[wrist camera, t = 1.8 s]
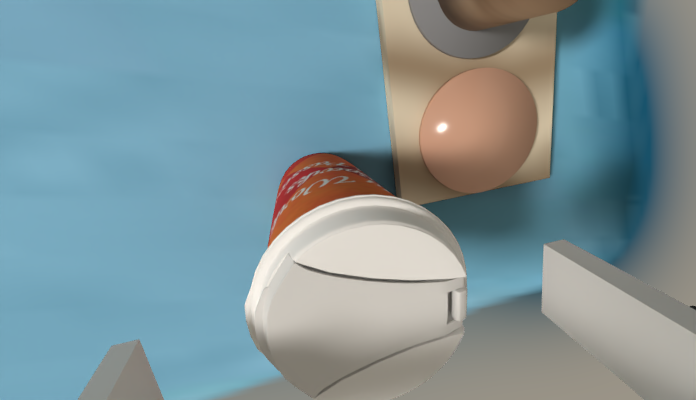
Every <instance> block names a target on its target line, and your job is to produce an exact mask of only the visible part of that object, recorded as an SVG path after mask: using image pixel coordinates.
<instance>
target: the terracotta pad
mask: <svg viewBox="0 0 696 400" xmlns="http://www.w3.org/2000/svg"><path fill="white" fill-rule="evenodd" d="M536 130H537V113H536V107H535V103H534V100H533V98H532V95H531V93H530V92H529V90H528V88H527V87H526V86H525V84H524V83H523V82H522V81H521V80H520V79H519V78H517V77H516V76H515V75H513V74H511V73H510V72H507V71H505V70H502V69H497V68H475V69H471V70H467V71H464V72H462V73H459V74H458V75H456V76H454V77H452V78H451V79H449V80H448V81H447V82H445V83H444V84H443V85H442V86H441V87H440V88H439V89H438V90H437V91H436V93H435V94H434V95H433V97H432V98H431V100H430V101H429V103H428V105H427V107H426V109H425V111H424V114H423V117H422V120H421V124H420V130H419V146H420V152H421V156H422V159H423V161H424V164H425V166H426V167H427V169H428V171H429V172H430V173H431V174H432V176H433V177H434V178H435V179H436V180H438V181H439V182H440V183H442V184H443V185H445V186H446V187H448V188H450V189H453V190H455V191H459V192H464V193H478V192H484V191H487V190H490V189H493V188H495V187H497V186H499V185H501V184H503V183H504V182H505V181H507V180H508V179H509V178H511V177H512V176H513V175H514V174H515V173H516V172H517V171H518V170H519V168H520V167H521V166H522V165H523V163H524V162H525V160H526V158H527V157H528V155H529V153H530V151H531V148H532V146H533V143H534V140H535V135H536Z"/></svg>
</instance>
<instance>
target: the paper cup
mask: <svg viewBox="0 0 696 400" xmlns="http://www.w3.org/2000/svg"><path fill="white" fill-rule="evenodd" d="M466 275H467V273H466V266H465V261H464V257H463V253H462V251H461V249H460V246H459V244H458V242H457V240H456V238H455V237H454V235H453V234H452V232H451V231H450V229H449V228H448V227H447V226H446V225H445V224H444V223H443V222H442V221H441V220H440V219H439V218H438V217H437V216H436V215H434V214H433V213H431V212H430V211H428V210H427V209H426V208H424V207H422V206H420V205H418V204H416V203H413V202H411V201H409V200H405V199H402V198H398V197H395V196H394V195H393V194H391V193H390V192H389V191H387V190H386V189H385V188H383V187H382V186H381V185H379V184H378V183H377V182H375V181H374V180H373V179H371V178H370V177H369V176H367V175H366V174H365V173H363V172H362V171H361V170H359V169H358V168H356V167H355V166H354V165H352V164H351V163H349V162H348V161H346V160H344V159H342V158H340V157H338V156H336V155H332V154H327V153H316V154H311V155H307V156H305V157H303V158H301V159H299V160H297V161H296V162H295V163H293V164H292V165H291V166H290V167H289V168H288V170H287V171H286V172H285V174H284V176H283V178H282V180H281V183H280V186H279V190H278V194H277V199H276V204H275V209H274V214H273V220H272V226H271V231H270V237H269V243H268V249H267V250H266V252H265V253H264V255H263V256H262V258H261V261H260V263H259V265H258V267H257V269H256V271H255V274H254V278H253V281H252V285H251V288H250V291H249V294H248V297H247V300H246V303H245V313H246V322H247V325H248V329H249V332H250V335H251V338H252V339H253V341H254V343H255V345H256V347H257V349H258V350H259V351H260V352H262V353H263V354H264V355H265V357H266V358H267V359H268V360H269V361H270V362H271V363H272V364H273V365H274V366H275V367H276V369H277V370H278V371H280V372H281V374H282V375H283V376H284V377H285V378H286V379H287V380H288V381H289V382H290V383H292V384H293V385H294V386H295V387H297V388H298V389H299V390H301V391H302V392H304V393H305V394H307V395H308V396H310V397H311V398H313V399H315V400H391V399H393V398H396V397H399V396H401V395H403V394H406V393H408V392H409V391H411V390H413V389H415V388H416V387H418V386H420V385H421V384H422V383H424V382H425V381H427V380H428V379H429V378H431V377H432V376H433V375H434V374H435V373H436V372H437V371H439V370H440V369H441V368H442V367H443V366H444V364H445V363H446V362H447V361H448V360H449V359H450V357H451V356H452V355H453V353H454V351H455V350H456V348H457V347H458V345H459V343H460V341H461V339H462V337H463V335H464V331H465V329H464V327H463V320H464V319H465V318H466V310H467V278H466Z"/></svg>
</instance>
